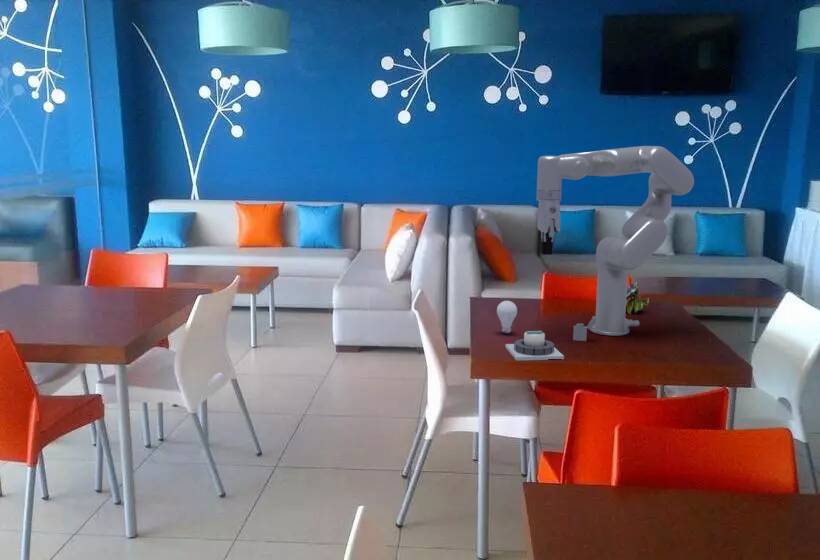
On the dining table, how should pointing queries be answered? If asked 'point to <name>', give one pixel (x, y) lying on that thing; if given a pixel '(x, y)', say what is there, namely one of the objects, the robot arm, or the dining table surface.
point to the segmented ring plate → (533, 351)
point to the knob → (534, 338)
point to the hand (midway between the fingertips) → (546, 254)
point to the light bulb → (506, 315)
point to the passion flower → (634, 299)
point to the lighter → (582, 330)
